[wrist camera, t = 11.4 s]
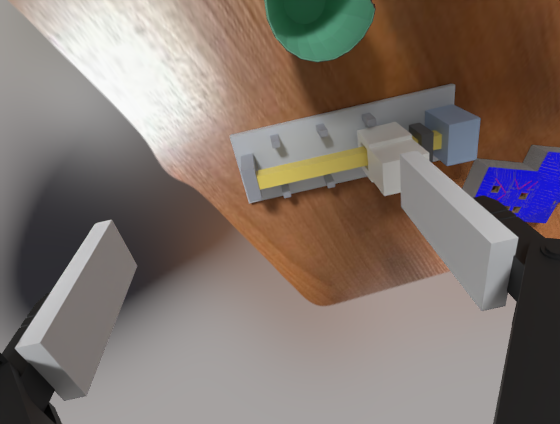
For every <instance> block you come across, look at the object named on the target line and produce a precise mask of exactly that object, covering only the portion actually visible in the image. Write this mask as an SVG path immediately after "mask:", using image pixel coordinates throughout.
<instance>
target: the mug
mask: <svg viewBox="0 0 560 424" xmlns="http://www.w3.org/2000/svg"><path fill="white" fill-rule="evenodd" d="M264 1H265V9H266V16H267V20H268V23H269V25H270V27H271V30H272V32H273V34H274V36H275V38H276V39H277V40H278V41H279V42H280V43H281V45H282V46H283V47H284V48H285V49H286V50H287V51H288V52H290V53H292V54H293V55H295V56H297V57H298V58H300V59H302V60H308V61H313V62H323V61H329V60H334V59H336V58H338V57H340V56H342V55H344V54H346V53H348V52H350V51H351V50H352V49H353V48H354V47H355V46H356V45H357V44H358V43H359V42H360V41H361V40H362V39H363V37H364V36H365V34H366V32H367V30H368V29H369V27H370V25H371V24H372V22H373V18H374V14H375V10H376V8H375V4H373V3H372V0H264Z"/></svg>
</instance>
